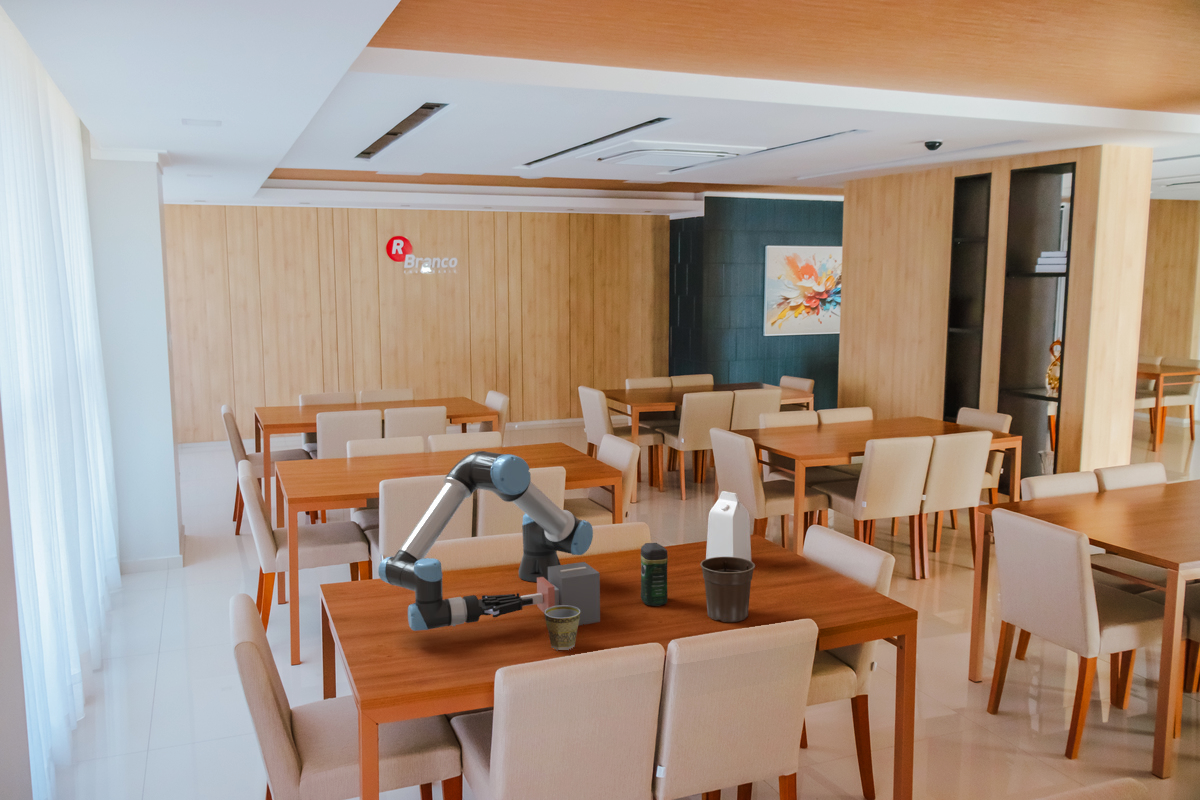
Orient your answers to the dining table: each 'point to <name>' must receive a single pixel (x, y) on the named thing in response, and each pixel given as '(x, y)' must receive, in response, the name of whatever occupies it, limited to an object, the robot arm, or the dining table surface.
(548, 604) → the pink piece
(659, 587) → the coffee jar
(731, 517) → the milk
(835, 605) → the dining table surface
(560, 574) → the press housing
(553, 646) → the ceramic cup
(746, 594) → the plant pot
